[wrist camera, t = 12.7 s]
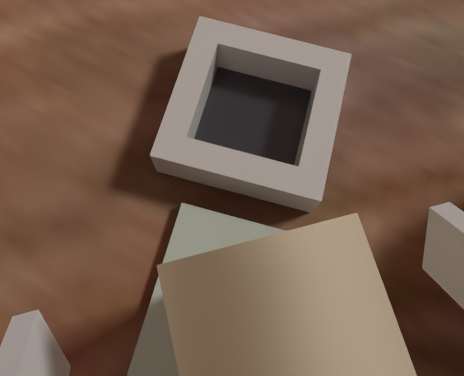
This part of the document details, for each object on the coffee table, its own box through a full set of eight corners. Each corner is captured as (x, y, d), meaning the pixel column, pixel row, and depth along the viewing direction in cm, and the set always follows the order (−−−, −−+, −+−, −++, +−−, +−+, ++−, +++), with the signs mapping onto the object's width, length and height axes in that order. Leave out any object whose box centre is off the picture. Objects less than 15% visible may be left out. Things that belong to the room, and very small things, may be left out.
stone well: (201, 44, 24) (199, 16, 22) (338, 78, 24) (351, 54, 21) (157, 171, 22) (149, 155, 19) (309, 212, 21) (321, 201, 19)
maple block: (282, 259, 20) (357, 212, 9) (312, 359, 18) (439, 437, 8) (189, 284, 19) (156, 265, 9) (213, 389, 18) (208, 517, 7)
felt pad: (182, 205, 21) (181, 202, 20) (357, 252, 21) (361, 251, 20) (121, 398, 18) (118, 402, 18) (322, 458, 18) (326, 463, 17)
